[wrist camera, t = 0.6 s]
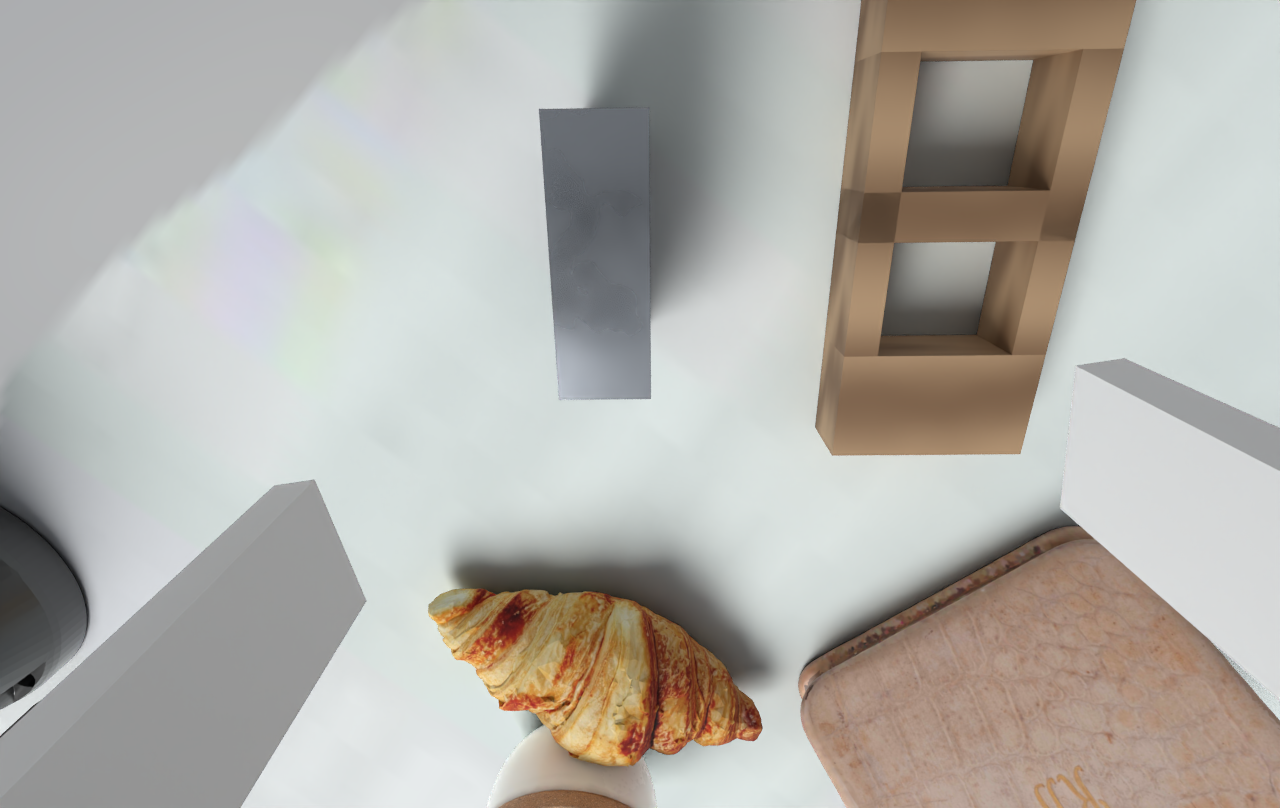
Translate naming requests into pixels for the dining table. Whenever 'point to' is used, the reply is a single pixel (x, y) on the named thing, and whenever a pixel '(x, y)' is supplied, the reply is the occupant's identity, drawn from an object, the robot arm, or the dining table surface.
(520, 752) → the lidded jar
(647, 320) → the grey bridge block
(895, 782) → the case
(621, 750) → the croissant
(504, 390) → the dining table surface
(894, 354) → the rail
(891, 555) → the dining table surface
